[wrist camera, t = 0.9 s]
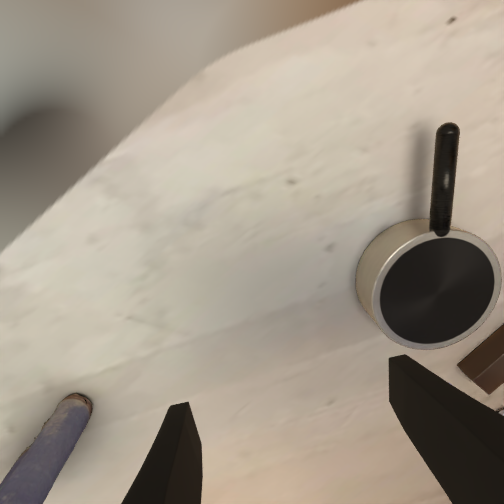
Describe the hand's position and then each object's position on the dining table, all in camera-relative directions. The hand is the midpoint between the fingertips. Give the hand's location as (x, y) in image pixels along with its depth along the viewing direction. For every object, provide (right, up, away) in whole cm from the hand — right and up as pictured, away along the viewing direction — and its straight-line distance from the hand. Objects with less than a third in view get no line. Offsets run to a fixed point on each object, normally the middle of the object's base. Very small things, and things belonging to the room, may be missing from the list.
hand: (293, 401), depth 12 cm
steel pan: (+9, +6, +11) cm, 16 cm away
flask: (-17, -9, +14) cm, 24 cm away
